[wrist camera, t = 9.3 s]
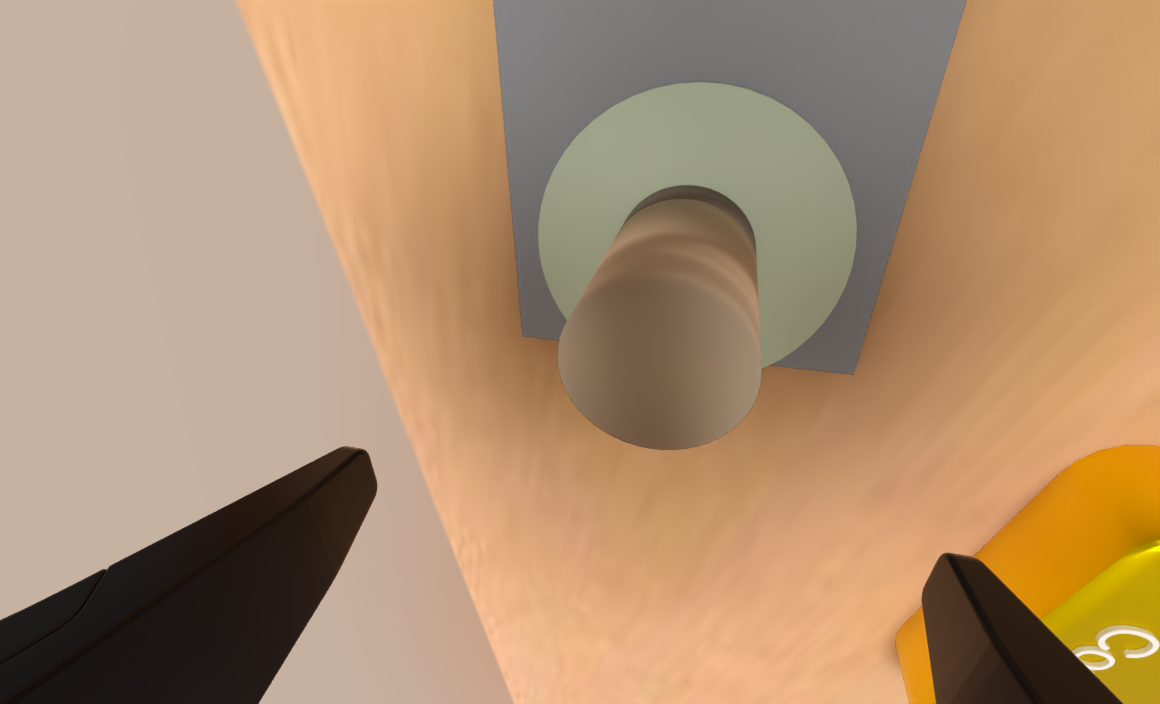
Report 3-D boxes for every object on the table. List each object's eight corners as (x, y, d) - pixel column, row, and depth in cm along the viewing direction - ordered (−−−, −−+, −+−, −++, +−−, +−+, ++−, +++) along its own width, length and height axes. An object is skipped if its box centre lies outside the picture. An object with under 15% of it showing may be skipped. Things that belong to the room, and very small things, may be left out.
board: (1206, -840, 8) (1689, -1730, 4) (843, 388, 19) (869, 486, 15) (451, -609, 11) (271, -994, 6) (529, 350, 22) (481, 425, 18)
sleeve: (766, 188, 16) (779, 289, 10) (745, 320, 18) (745, 463, 12) (619, 181, 17) (553, 268, 11) (616, 307, 19) (561, 434, 13)
